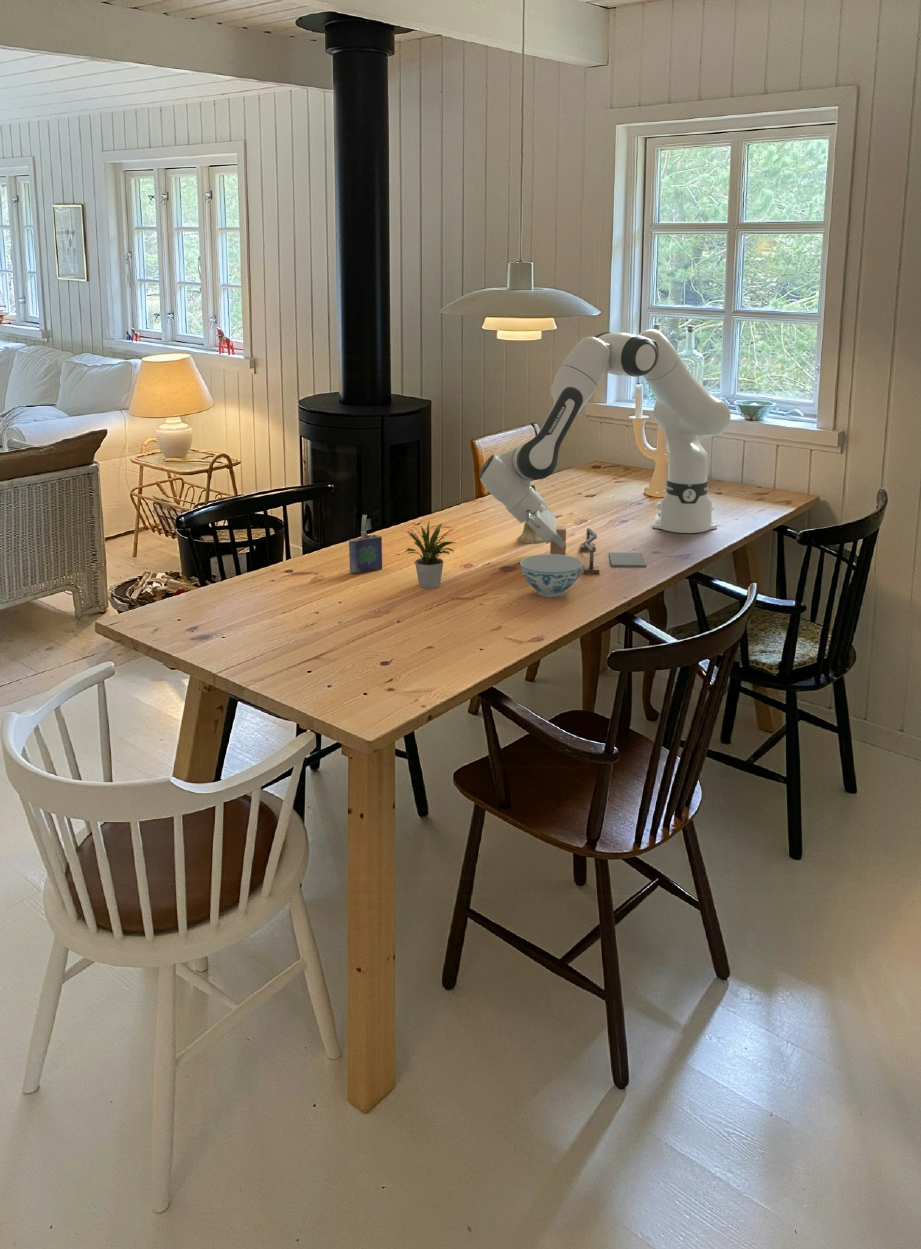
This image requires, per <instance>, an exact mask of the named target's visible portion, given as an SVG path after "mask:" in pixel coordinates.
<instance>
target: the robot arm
mask: <svg viewBox="0 0 921 1249" xmlns="http://www.w3.org/2000/svg"><path fill="white" fill-rule="evenodd" d="M606 373H607V374H611V375H615V376H626V377H627V376H629V377H634V378H635V377H642V376H643V378H644V380H645V381H646V383H647V384H648V386H649V387H650V390H651V391H652V392H653V394H654V395H655V397H657V400H656V401H655V404H654V406H653V417H654V421H655V422H656V424H658V426H659V427H660V429H661V431H662V433H663V435H664V439H665V442H666V445H667V451H668V475H667V476H668V478H667V480H666V484H665V496H663V498H662V499H661V501H658V502H657V503H656V504H657V507H656V508H657V510H658V511H659V512H658V513H656V516H655V519H654V521H653V523H652V528H654V529H659V530H664V531H667V532H671V533H679V534H697V533H704V532H707V531H709V530H714V529H717V528H718V524H716V523H715V522H714V521H713V520H712V518H713V517H712V515H713V513H712V512H713V511H712V510H713V501H712V500H711V498H709V497H708V493H709V492H708V491H709V481H708V467H709V466H708V465H709V464H708V463H709V455H708V453H707V450H706V449H704V447H703V446H702V444H701V442H700V439H699V437H715V436H720V435H722V434H723V433H725V431H726V430H728V427H729V425H730V423H731V417H732V416H731V410H730V407H729V406H728V405H727V403H726V402H724V401H722V400H720V399H719V398H717V397H716V396H715V395H714V394H712V393H711V392H710V391H709V390H707V388H706V387H704V385H702V384H701V383H700V382H699V380H697V379H696V378H695V377H694V376H693V374H691V373H690V370H689V369H688V368H687V365H686V364H685V363H684V361H683V360H682V357H680V355H679V352H677V350H676V349H675V347H674V346H673V345H672V343H671V342H670V341H669V339H668V338H667V337H666V336H665V335H664V334H663V333H662V332H661V331H659V330H657V329H654V328H653V329H651V328H649V329H645V330H644V331H641V332H639V333H638V334H637V335H636V334H632V333H627V332H610V331H607V332H606V331H605V332H601V333H597V334H596V335H594V336H586V337H583V338H581V339H580V340H579V342H578V343H576V345H575V346H574V347H573V348H572V350H571V351H570V352H569V354H568V355H567V356H566V358H565V360H564V361H563V362H562V364H561V365H560V366H559V369H558V371H557V373H556V375H555V376H554V379H553V382H552V384H551V386H550V387H551V388H550V393H551V394H550V395H551V397H552V400H553V402H552V407H551V410H550V411H549V413H548V415H547V417H546V419H545V420H544V423H543V425H541V426H542V427H541V428H540V430H539V431H538V432H537V434H536V435H535V437H533V438H532V439H530V440H529V441H527V442H526V443H525V442H524V443H522V444H519V445H517V446H516V447H514V448H512V449H510V450H507V451H504V452H502V453H497V454H492V455H490V456H489V457H488V458H487V459H486V460H485V462H484V463H483V465H482V467H481V469H480V470H479V473H478V474H479V477H478V478H479V480H480V482H481V484H482V485H483V486H484V488H485V489H486V490H487V491H488V492H489V493H490V495H492V496H493V498H494V499H495V500H496V501H498V502H500V503H501V504H503V506H504V507H505V509H506V510H507V512H508V513H510V514H511V515H512V517H514V518H515V519H516V521H518V523H520V524H522V523H525V521H526V522H527V523H528V524H529V526H530V527H531V528H532V529H533V531H534V532H535V533H536V534H537V535H538V536H539V537H540V538H541V539H542V540H543V541H544V542H543V543H546V544H550V542H551V541H553V542H555V543H556V544H558V545H559V546H560V547H561V548H563V547H564V546H565V545H567V540H566V541H564V539H563V538H561V537H560V536H559V535H558V534H557V533H556V526H557V519H556V515H555V514H554V513H553V511H552V510H551V509H550V507H548V506H547V504H546V502H544V500H545V499H544V498H543V497H542V496H541V494H539V492H537V490H536V491H535V490H534V489H533V488H532V487H531V486H530V485H531V482H532V481H533V480H536V481H537V480H539V481H540V480H544V479H546V478H548V477H549V476H551V475H552V473H554V471H555V469H556V467H557V464H558V459H559V452H560V447H561V445H562V442H563V440H564V439H565V437H566V436H567V433H568V431H569V430H570V427H571V426H572V424H573V422H574V421H575V418H576V417H577V416H578V414H579V413H580V412H581V410H582V409H583V408H584V406H585V405H586V404H587V403H588V402H589V400H590V398H592V396H593V395H594V393H595V391H596V390H597V387H598V386H599V385H600V382H601V381H602V379H603V377H604V375H605V374H606Z"/></svg>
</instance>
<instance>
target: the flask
mask: <svg viewBox="0 0 921 1249" xmlns="http://www.w3.org/2000/svg"><path fill="white" fill-rule="evenodd" d="M360 536H361V537H357V538H351V539H349V541H348V548H349V549H348V551H349V552H348V553H349V554H348V555H349V574H351V575H355V574H356V575H359V574H358V573H360V574H365V573H370V572H375V571H381V570H383V541H382V540H383V537H382V536H381V535H378V534H368V533H367V531H366V530H362V531H361V535H360Z"/></svg>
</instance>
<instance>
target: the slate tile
mask: <svg viewBox="0 0 921 1249" xmlns="http://www.w3.org/2000/svg"><path fill="white" fill-rule="evenodd" d="M644 556H645V555H644V554H643V552H611V551H610V552H608V557H609V561H610V567H611V568H647V564H646V563H647V562H646V559H645V557H644Z"/></svg>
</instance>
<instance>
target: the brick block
mask: <svg viewBox="0 0 921 1249" xmlns="http://www.w3.org/2000/svg"><path fill="white" fill-rule="evenodd" d="M556 533H557V534H558V535H559V536H560V537H561V538H563V539H564V541H566V542H567V526H566V525H556ZM549 544H550V545H549V549H550V552H549V554H559V555H566V550H567V549H566V545H567V544H566V545H565V546H564V547H563V548H561V547H560V546H559V545H558V544H556V543H555V542H553V541H551V542H549Z"/></svg>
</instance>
